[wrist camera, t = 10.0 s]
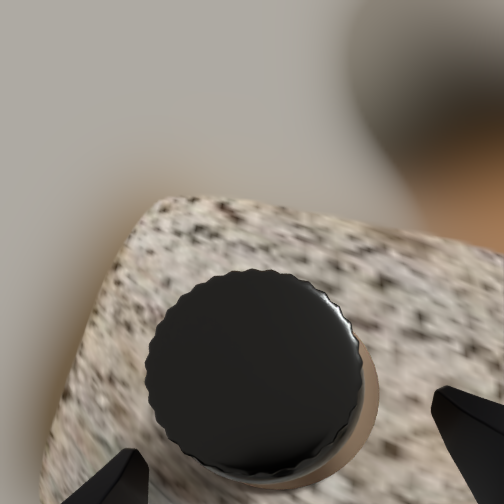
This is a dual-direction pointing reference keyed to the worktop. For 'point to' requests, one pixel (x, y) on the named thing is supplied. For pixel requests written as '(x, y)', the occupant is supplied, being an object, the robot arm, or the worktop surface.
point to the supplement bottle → (256, 376)
